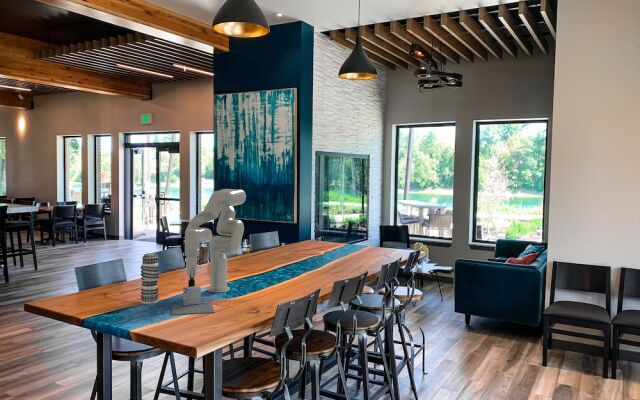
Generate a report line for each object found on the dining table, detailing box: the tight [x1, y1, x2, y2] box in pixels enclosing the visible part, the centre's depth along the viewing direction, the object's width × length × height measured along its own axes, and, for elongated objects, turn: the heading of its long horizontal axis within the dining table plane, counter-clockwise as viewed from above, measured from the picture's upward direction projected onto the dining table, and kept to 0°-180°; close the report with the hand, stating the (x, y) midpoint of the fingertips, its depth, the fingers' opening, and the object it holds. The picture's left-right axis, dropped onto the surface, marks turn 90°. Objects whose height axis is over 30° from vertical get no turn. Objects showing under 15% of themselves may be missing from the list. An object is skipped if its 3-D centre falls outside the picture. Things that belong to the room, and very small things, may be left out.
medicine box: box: [182, 285, 202, 306], centre depth 245 cm, size 8×4×9 cm, turn 141°
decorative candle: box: [140, 252, 160, 305], centre depth 248 cm, size 9×9×25 cm
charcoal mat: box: [170, 303, 215, 316], centre depth 236 cm, size 14×20×1 cm
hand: (191, 287), depth 250 cm, fingers closed
